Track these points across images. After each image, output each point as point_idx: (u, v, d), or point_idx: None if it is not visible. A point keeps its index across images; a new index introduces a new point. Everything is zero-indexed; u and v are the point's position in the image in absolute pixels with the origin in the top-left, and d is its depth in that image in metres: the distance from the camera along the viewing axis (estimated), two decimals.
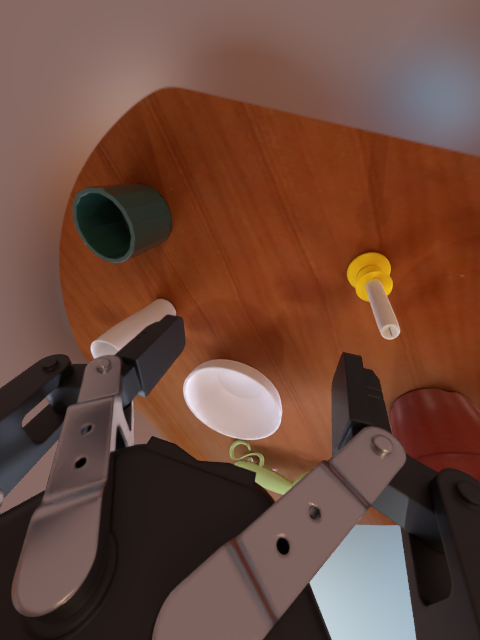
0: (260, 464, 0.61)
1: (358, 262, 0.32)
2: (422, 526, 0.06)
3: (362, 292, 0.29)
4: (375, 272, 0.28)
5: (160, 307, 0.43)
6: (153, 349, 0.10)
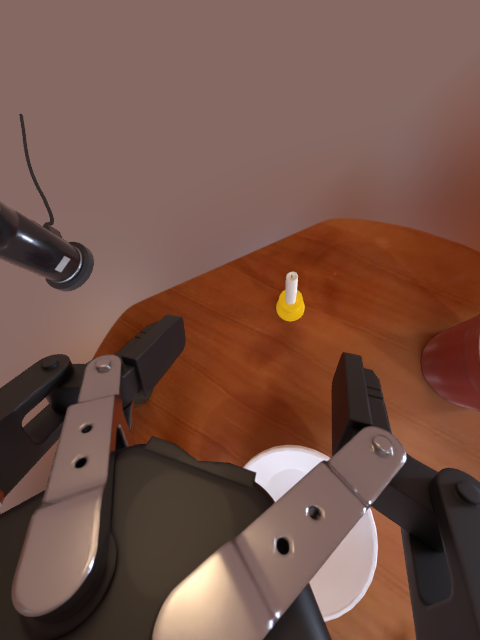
0: None
1: (279, 306, 0.45)
2: (422, 526, 0.06)
3: (288, 306, 0.40)
4: (283, 292, 0.41)
5: None
6: (153, 349, 0.10)
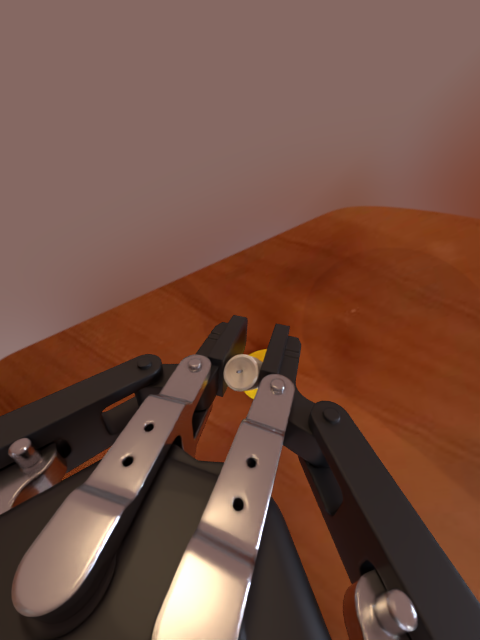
0: None
1: None
2: (303, 446, 0.08)
3: None
4: None
5: None
6: (231, 349, 0.11)
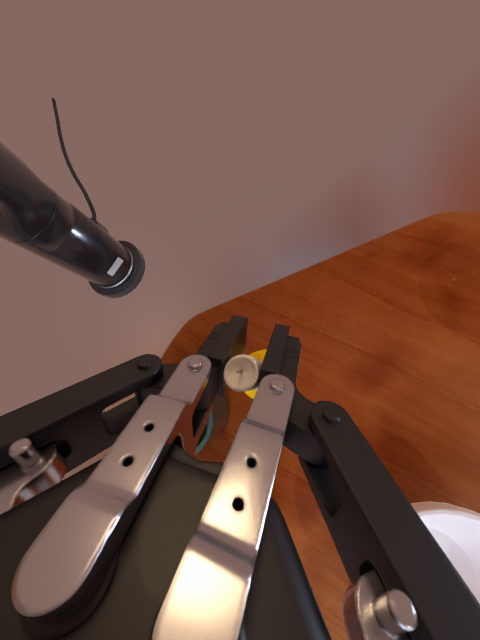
0: None
1: None
2: (303, 446, 0.08)
3: None
4: None
5: None
6: (231, 349, 0.11)
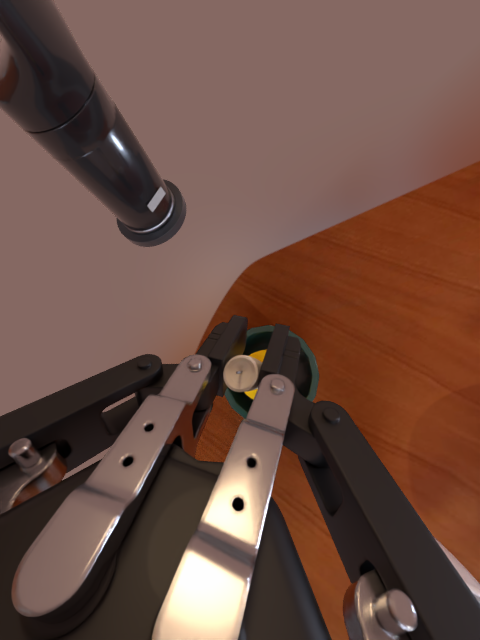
0: None
1: None
2: (303, 446, 0.08)
3: None
4: None
5: None
6: (231, 349, 0.11)
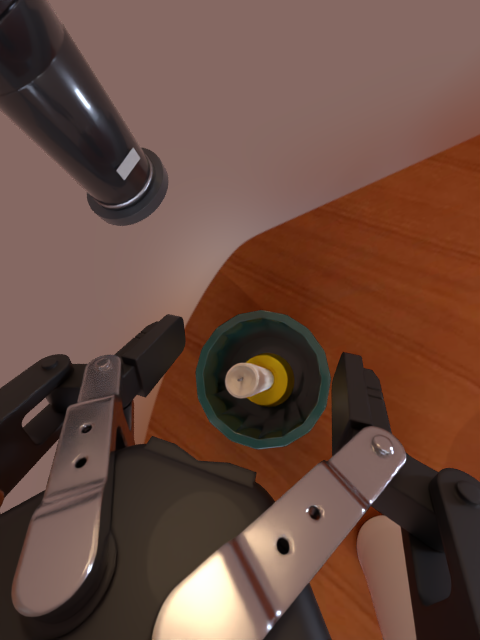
0: None
1: None
2: (422, 526, 0.06)
3: (259, 395, 0.19)
4: (247, 362, 0.20)
5: (397, 532, 0.18)
6: (153, 349, 0.10)
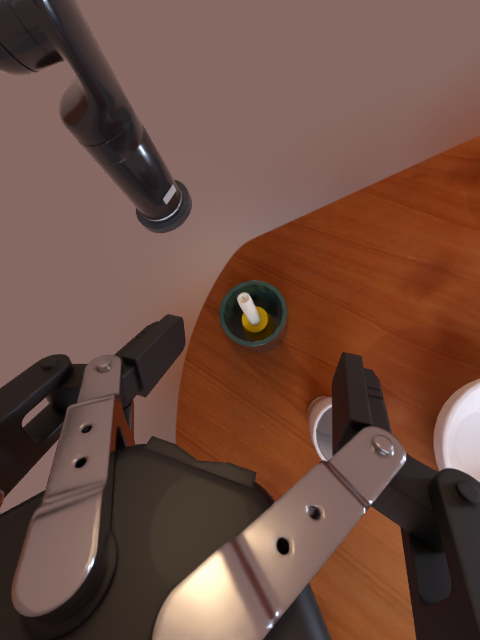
0: None
1: None
2: (422, 526, 0.06)
3: (252, 327, 0.35)
4: None
5: None
6: (153, 349, 0.10)
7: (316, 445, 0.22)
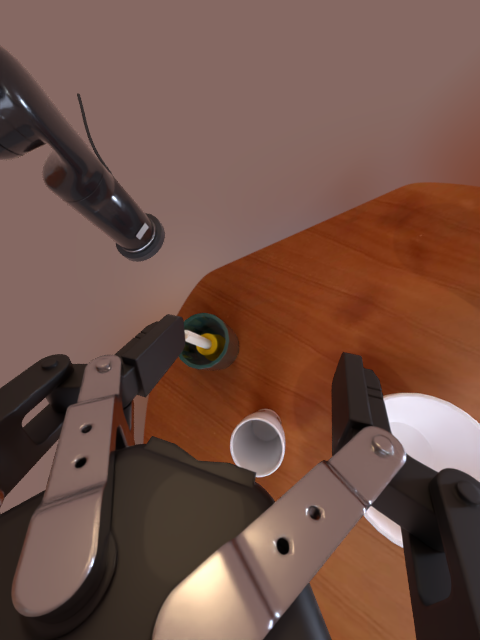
0: None
1: None
2: (422, 526, 0.06)
3: (204, 351, 0.42)
4: None
5: None
6: (153, 349, 0.10)
7: (231, 452, 0.29)
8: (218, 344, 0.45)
